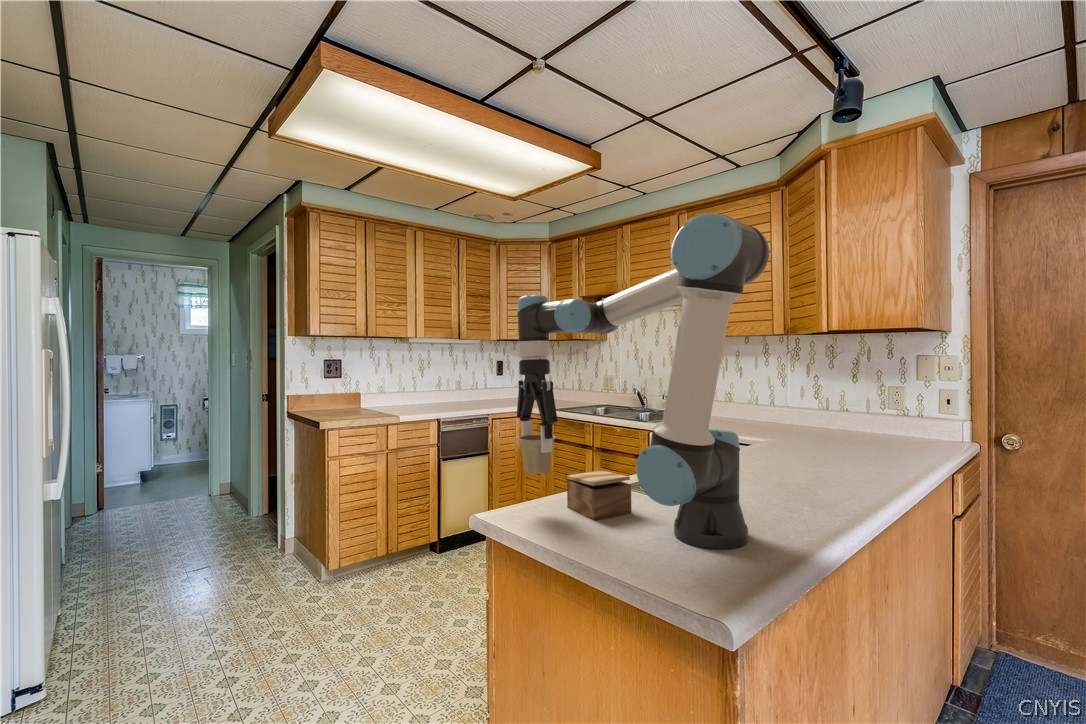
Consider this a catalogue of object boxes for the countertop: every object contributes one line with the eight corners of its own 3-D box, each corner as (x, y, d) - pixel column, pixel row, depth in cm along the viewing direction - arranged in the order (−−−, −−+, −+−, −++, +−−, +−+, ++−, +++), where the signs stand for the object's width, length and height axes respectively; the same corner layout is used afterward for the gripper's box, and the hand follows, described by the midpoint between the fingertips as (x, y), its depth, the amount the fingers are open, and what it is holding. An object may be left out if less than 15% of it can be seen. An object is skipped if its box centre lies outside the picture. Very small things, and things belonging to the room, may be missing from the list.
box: (631, 512, 126) (631, 484, 126) (594, 520, 121) (594, 491, 121) (602, 500, 137) (602, 474, 137) (567, 507, 131) (567, 480, 131)
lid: (630, 481, 126) (629, 476, 126) (593, 487, 121) (593, 482, 121) (600, 474, 137) (599, 469, 137) (565, 479, 132) (565, 475, 132)
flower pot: (557, 467, 132) (556, 434, 132) (555, 476, 122) (554, 439, 122) (521, 468, 133) (520, 434, 133) (516, 476, 123) (514, 440, 123)
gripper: (570, 357, 119) (573, 454, 120) (527, 358, 139) (529, 441, 139) (542, 358, 116) (545, 457, 116) (501, 359, 135) (504, 444, 135)
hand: (536, 449), depth 127 cm, fingers closed on flower pot, 9 cm apart
